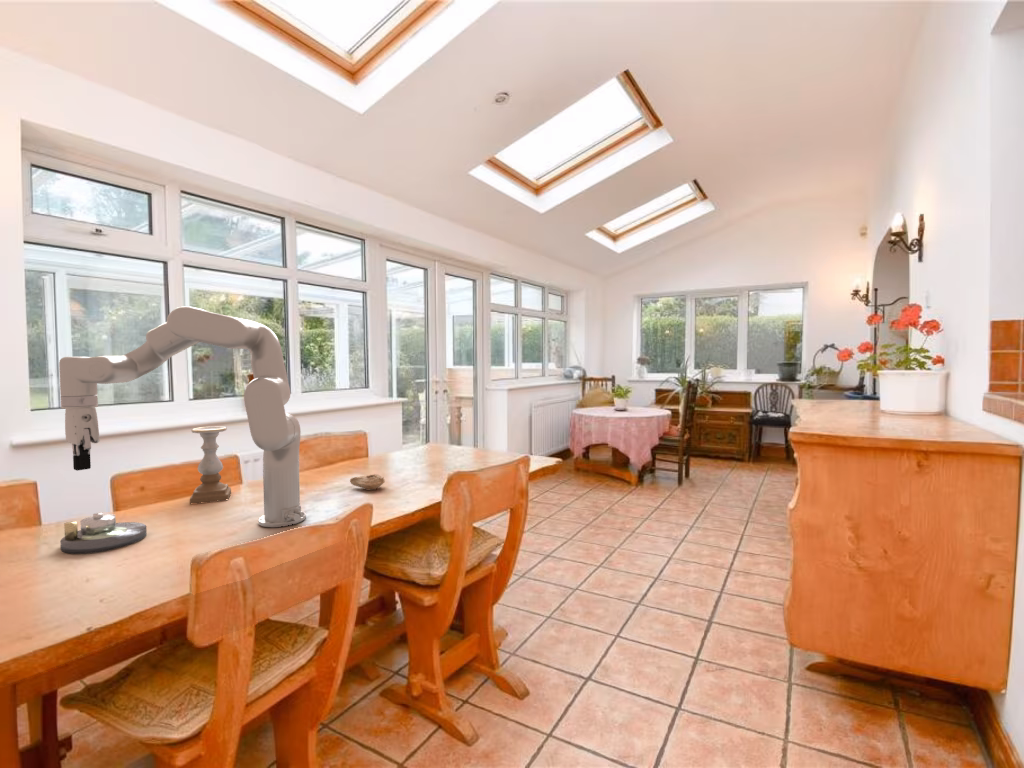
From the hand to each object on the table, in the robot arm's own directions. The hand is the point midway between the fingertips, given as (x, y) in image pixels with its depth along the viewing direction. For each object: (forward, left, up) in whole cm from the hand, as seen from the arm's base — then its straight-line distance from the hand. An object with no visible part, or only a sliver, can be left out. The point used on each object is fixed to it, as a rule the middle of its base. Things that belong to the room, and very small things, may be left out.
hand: (82, 469), depth 134 cm
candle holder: (+5, -35, -17) cm, 39 cm away
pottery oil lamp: (-29, -73, -17) cm, 80 cm away
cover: (-11, 0, -15) cm, 18 cm away
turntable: (-15, 0, -17) cm, 23 cm away
